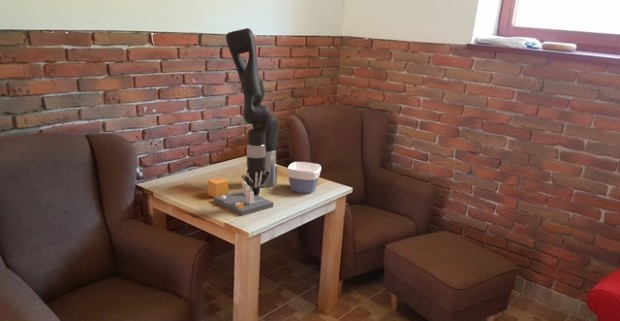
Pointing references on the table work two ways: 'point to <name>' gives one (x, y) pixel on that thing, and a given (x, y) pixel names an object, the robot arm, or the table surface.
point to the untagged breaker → (245, 188)
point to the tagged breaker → (249, 197)
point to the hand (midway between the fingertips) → (255, 195)
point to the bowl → (303, 176)
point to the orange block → (217, 187)
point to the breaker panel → (242, 203)
